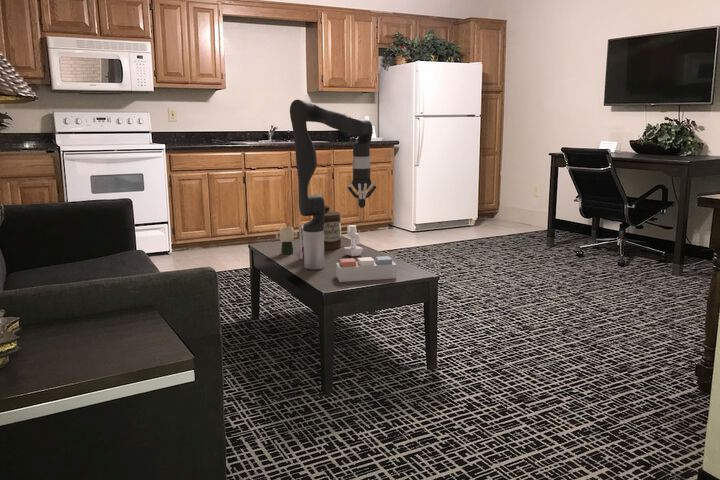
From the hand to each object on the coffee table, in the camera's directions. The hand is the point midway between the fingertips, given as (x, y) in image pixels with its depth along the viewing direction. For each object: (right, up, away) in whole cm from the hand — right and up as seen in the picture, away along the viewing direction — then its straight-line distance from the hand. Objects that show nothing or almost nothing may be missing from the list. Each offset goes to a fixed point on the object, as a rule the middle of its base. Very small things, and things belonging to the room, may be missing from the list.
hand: (361, 207), depth 252 cm
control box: (+2, -30, -2) cm, 30 cm away
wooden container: (-18, -18, +58) cm, 64 cm away
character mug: (-37, -21, +44) cm, 61 cm away
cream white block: (+2, -27, -2) cm, 27 cm away
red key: (-6, -27, -4) cm, 28 cm away
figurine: (-4, -22, +39) cm, 45 cm away
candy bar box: (-24, -23, +33) cm, 47 cm away
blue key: (+9, -27, -1) cm, 28 cm away
